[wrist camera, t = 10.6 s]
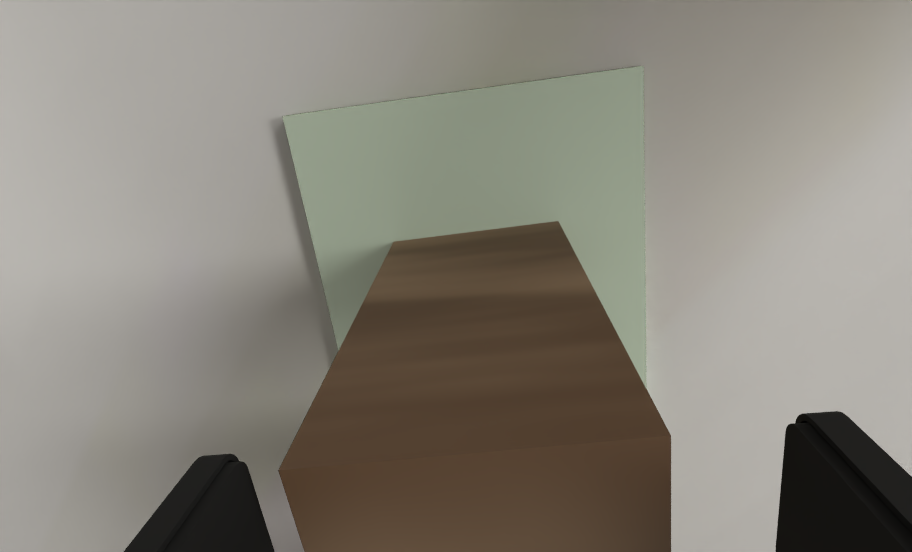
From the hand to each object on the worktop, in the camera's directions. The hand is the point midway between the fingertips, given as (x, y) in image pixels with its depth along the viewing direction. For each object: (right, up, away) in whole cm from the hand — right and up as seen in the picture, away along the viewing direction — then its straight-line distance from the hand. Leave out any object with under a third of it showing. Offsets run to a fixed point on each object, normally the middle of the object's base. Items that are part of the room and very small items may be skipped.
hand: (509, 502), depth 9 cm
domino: (0, +4, +10) cm, 11 cm away
